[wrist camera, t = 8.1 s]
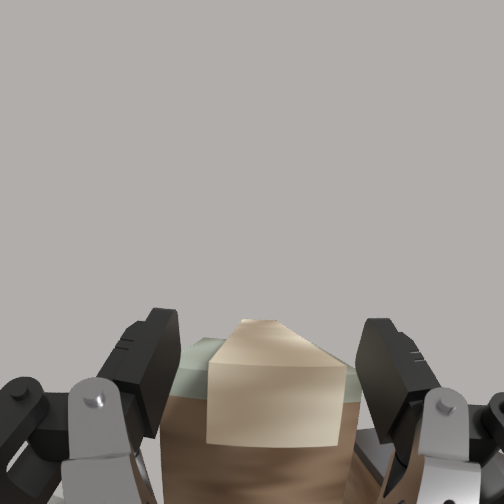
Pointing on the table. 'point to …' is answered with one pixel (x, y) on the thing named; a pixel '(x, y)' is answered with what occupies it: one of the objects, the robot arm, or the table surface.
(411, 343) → the robot arm
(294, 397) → the slat
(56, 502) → the table surface
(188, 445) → the walnut stand
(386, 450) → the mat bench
